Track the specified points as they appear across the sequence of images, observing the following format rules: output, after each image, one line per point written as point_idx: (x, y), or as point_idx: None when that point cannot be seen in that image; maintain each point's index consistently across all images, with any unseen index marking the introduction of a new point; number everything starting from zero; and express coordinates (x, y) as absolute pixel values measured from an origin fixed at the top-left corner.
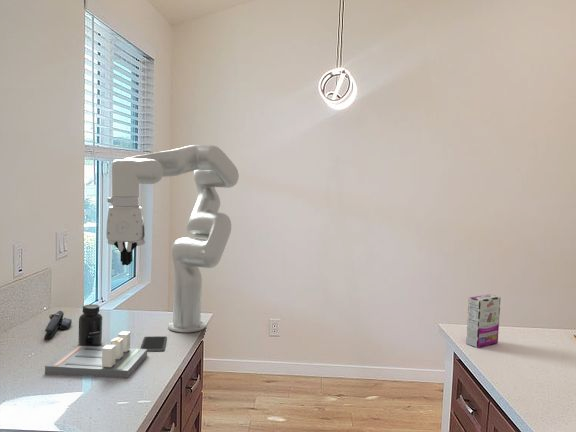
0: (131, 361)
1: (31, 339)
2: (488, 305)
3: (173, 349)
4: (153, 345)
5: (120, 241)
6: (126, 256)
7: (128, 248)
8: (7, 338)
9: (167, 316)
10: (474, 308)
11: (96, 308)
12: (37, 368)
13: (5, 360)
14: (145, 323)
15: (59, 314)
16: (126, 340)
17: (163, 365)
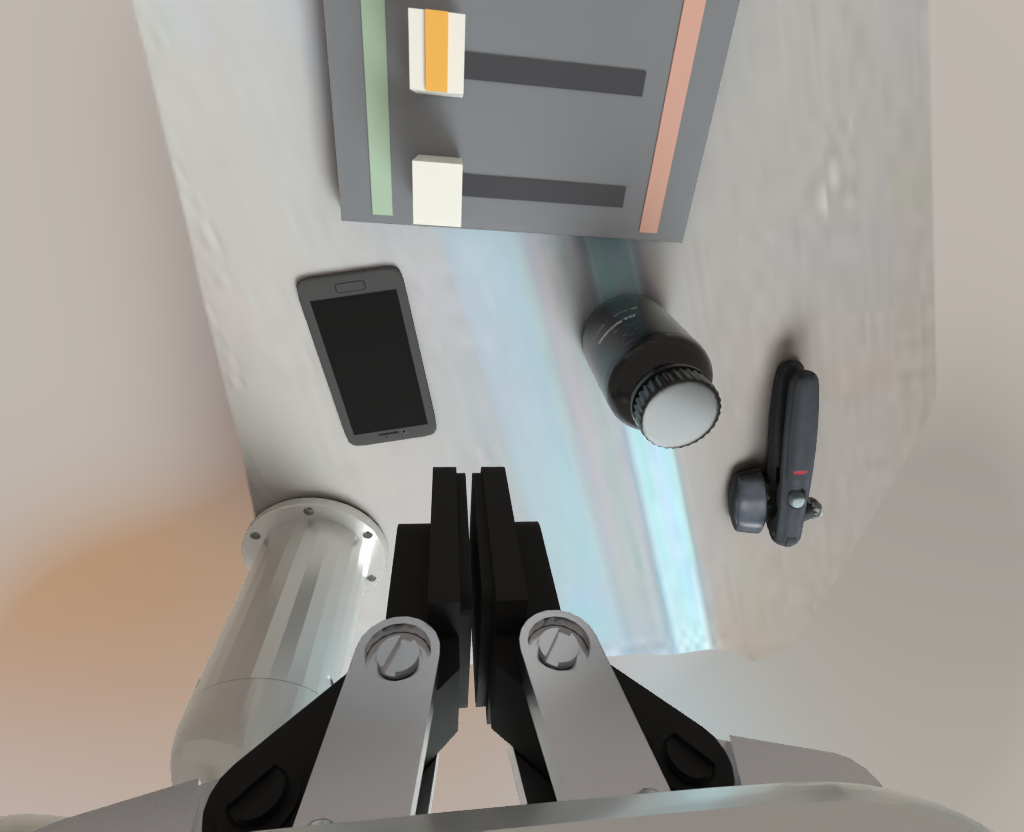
0: (348, 11)
1: (843, 360)
2: None
3: (265, 311)
4: (363, 337)
5: (591, 803)
6: (442, 543)
7: (408, 684)
8: (925, 360)
9: None
10: None
11: (647, 394)
12: None
13: (926, 98)
14: None
15: (790, 511)
16: (416, 158)
17: (216, 82)
